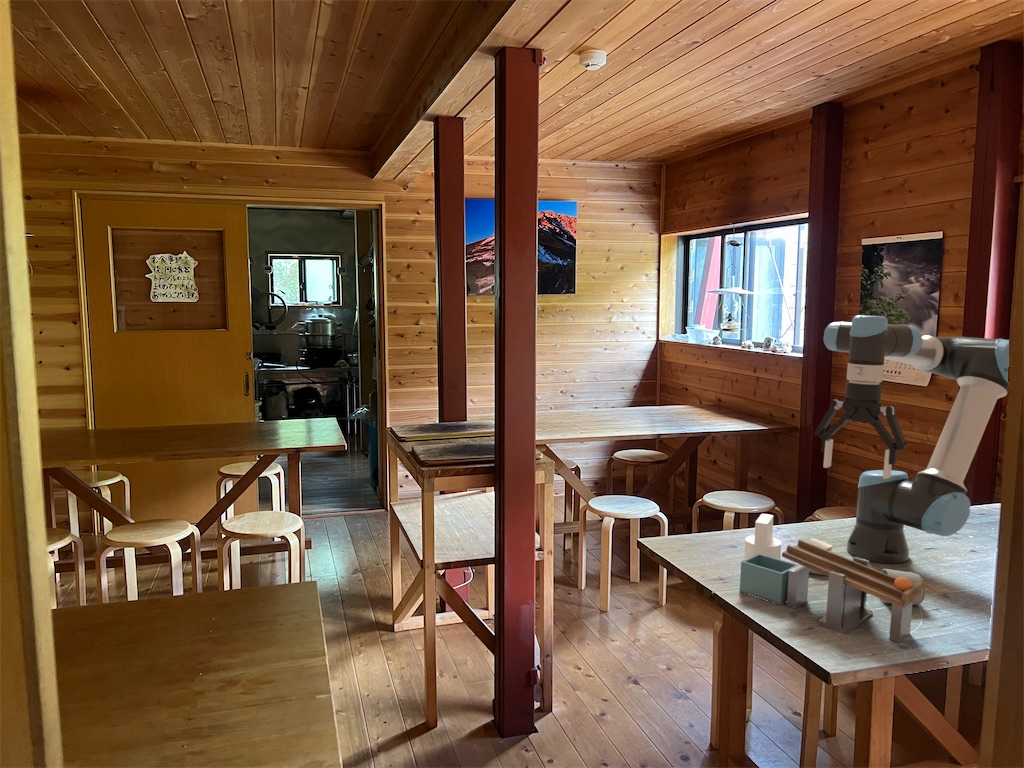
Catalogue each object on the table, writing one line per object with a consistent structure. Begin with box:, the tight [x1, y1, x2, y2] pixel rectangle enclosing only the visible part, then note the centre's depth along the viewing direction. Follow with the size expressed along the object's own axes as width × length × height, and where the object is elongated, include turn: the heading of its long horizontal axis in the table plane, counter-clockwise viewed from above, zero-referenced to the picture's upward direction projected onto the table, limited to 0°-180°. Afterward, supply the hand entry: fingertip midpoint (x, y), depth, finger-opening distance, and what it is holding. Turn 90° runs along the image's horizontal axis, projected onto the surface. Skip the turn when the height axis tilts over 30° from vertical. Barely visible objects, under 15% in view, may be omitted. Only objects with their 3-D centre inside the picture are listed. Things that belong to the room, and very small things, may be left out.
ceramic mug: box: [880, 568, 926, 606], centre depth 170 cm, size 11×8×8 cm
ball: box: [894, 577, 912, 592], centre depth 151 cm, size 3×3×3 cm
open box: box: [739, 553, 799, 606], centre depth 173 cm, size 8×10×8 cm
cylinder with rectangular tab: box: [743, 513, 782, 561], centre depth 193 cm, size 9×9×12 cm
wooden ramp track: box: [781, 537, 925, 608], centre depth 160 cm, size 15×26×3 cm, turn 44°
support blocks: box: [786, 556, 913, 644], centre depth 159 cm, size 14×24×12 cm, turn 44°
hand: (856, 472), depth 173 cm, fingers open, 13 cm apart
